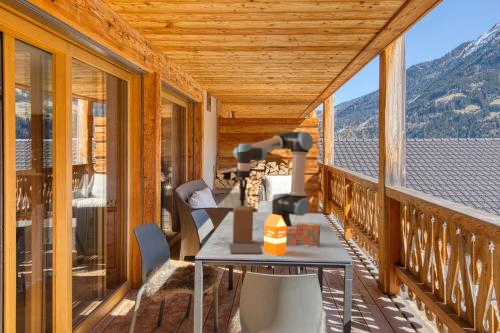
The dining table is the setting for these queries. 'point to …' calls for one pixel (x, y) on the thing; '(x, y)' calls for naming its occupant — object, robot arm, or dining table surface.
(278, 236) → the orange juice
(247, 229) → the wooden block
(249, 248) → the mat
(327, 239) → the dining table surface
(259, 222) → the dining table surface
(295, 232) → the stack of blocks
